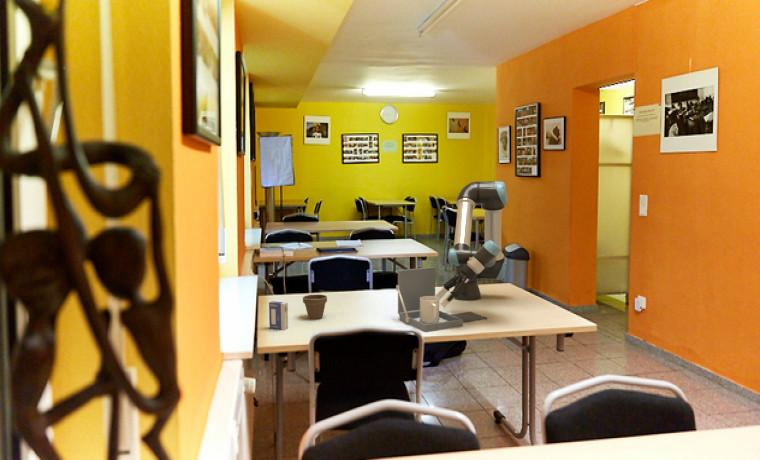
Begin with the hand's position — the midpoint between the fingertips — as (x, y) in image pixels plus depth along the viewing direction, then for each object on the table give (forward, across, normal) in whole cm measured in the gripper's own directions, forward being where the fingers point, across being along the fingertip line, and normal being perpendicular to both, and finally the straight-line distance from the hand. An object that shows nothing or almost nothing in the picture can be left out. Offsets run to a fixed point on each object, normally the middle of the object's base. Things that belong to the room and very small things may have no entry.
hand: (438, 302), depth 267 cm
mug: (+10, 0, +4) cm, 10 cm away
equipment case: (+9, 0, +4) cm, 10 cm away
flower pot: (+46, -16, -32) cm, 59 cm away
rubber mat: (-4, -8, +17) cm, 19 cm away
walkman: (+58, +1, -44) cm, 72 cm away
